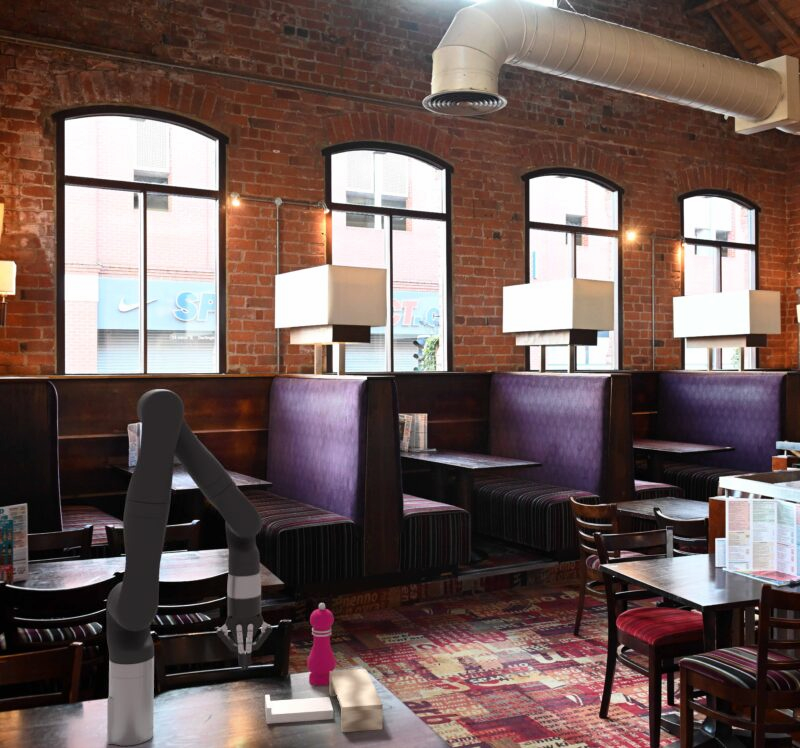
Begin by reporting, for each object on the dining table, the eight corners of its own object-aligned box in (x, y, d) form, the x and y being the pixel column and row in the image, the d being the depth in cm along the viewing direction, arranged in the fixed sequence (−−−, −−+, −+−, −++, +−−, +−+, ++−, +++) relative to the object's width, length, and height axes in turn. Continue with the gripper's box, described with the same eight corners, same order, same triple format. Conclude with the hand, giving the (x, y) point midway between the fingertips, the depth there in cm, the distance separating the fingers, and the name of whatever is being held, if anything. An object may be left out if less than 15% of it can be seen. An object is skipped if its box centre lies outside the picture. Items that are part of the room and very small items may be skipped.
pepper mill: (341, 681, 223) (342, 603, 223) (320, 688, 218) (320, 608, 217) (322, 674, 228) (323, 597, 228) (301, 681, 223) (301, 603, 222)
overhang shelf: (342, 732, 192) (342, 707, 192) (329, 693, 215) (329, 671, 215) (382, 729, 194) (382, 704, 194) (365, 691, 216) (365, 668, 216)
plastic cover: (266, 723, 196) (266, 708, 196) (264, 709, 204) (265, 694, 204) (333, 718, 199) (333, 703, 199) (328, 705, 207) (329, 690, 207)
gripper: (214, 598, 194) (215, 676, 194) (274, 595, 197) (275, 671, 197) (214, 590, 201) (215, 664, 202) (272, 586, 204) (273, 660, 204)
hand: (244, 668), depth 199 cm, fingers closed
